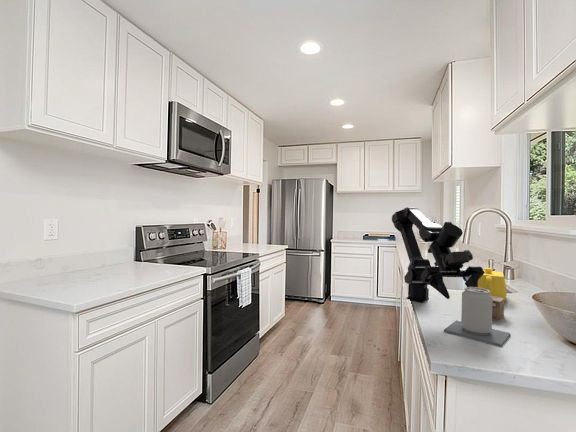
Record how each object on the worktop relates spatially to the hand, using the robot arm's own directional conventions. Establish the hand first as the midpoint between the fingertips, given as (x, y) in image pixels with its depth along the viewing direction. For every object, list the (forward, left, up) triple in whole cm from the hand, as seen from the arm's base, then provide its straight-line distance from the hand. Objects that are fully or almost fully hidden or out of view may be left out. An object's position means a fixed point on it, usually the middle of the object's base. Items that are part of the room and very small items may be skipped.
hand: (463, 298), depth 97 cm
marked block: (+4, +17, -8) cm, 19 cm away
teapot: (-3, +44, -9) cm, 45 cm away
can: (+5, -4, -8) cm, 10 cm away
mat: (+5, -4, -8) cm, 10 cm away
